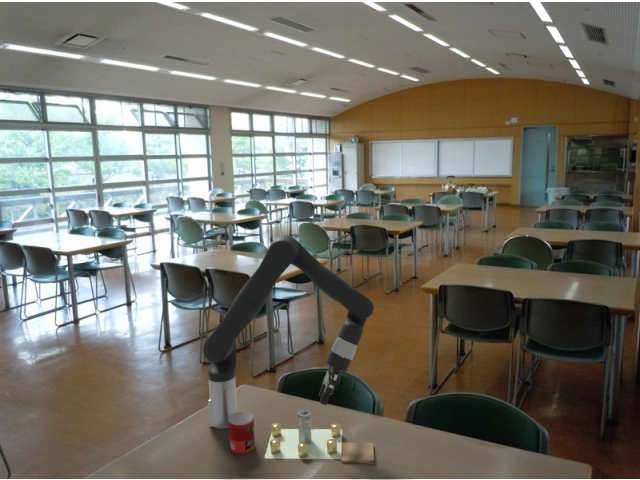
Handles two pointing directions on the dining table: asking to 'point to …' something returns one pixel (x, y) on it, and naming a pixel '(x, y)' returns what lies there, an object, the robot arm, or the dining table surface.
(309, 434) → the grey hexagonal metal post
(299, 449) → the spacers
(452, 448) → the dining table surface
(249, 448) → the canned food
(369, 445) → the tray
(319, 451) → the parts mat
